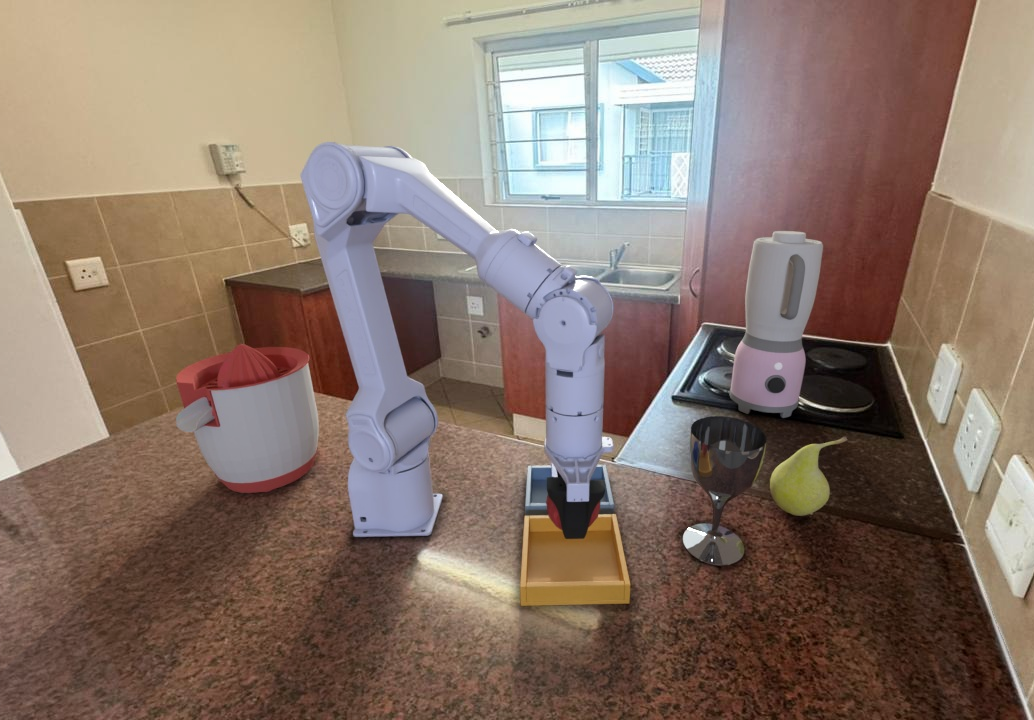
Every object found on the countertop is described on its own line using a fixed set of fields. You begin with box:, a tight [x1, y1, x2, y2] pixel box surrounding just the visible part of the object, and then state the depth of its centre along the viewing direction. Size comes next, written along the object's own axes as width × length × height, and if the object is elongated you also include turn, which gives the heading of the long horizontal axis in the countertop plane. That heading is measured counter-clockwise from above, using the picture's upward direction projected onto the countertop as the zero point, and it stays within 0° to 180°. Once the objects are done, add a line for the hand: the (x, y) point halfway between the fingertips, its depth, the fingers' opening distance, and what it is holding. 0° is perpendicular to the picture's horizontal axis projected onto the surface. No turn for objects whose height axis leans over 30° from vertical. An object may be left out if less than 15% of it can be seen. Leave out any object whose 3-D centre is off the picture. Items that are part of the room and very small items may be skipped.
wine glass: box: [682, 415, 768, 566], centre depth 57 cm, size 8×8×15 cm
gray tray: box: [524, 464, 615, 516], centre depth 67 cm, size 11×9×2 cm
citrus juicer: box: [175, 343, 320, 494], centre depth 70 cm, size 16×17×20 cm
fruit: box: [769, 436, 848, 517], centre depth 64 cm, size 7×8×12 cm
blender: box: [729, 230, 824, 419], centre depth 88 cm, size 16×12×32 cm
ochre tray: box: [519, 513, 631, 607], centre depth 56 cm, size 11×11×2 cm
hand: (573, 516), depth 54 cm, fingers closed on onion, 6 cm apart
